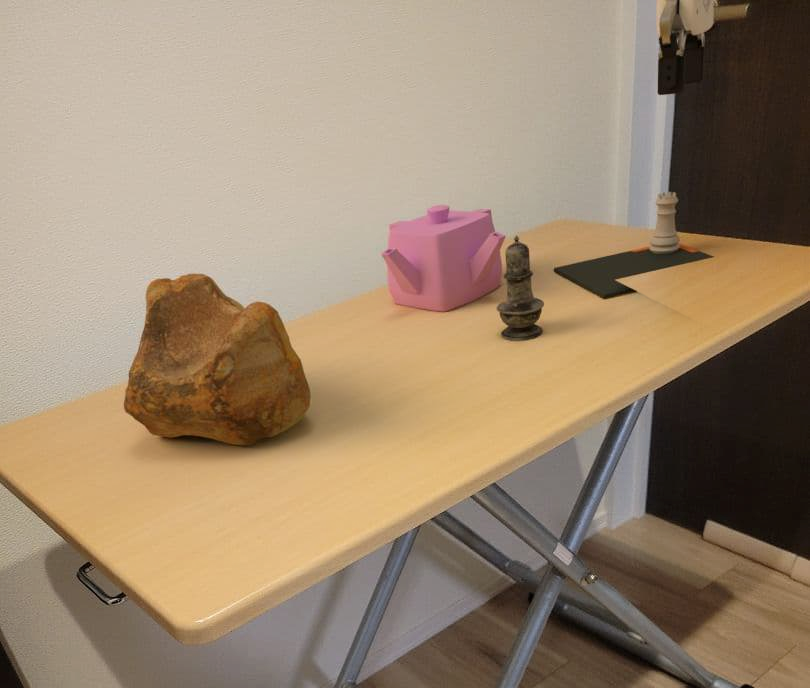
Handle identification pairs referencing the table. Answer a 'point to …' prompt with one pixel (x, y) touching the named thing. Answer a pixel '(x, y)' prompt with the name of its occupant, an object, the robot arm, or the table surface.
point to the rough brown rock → (213, 366)
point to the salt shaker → (519, 296)
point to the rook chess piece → (665, 226)
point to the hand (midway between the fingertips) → (680, 87)
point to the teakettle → (443, 258)
